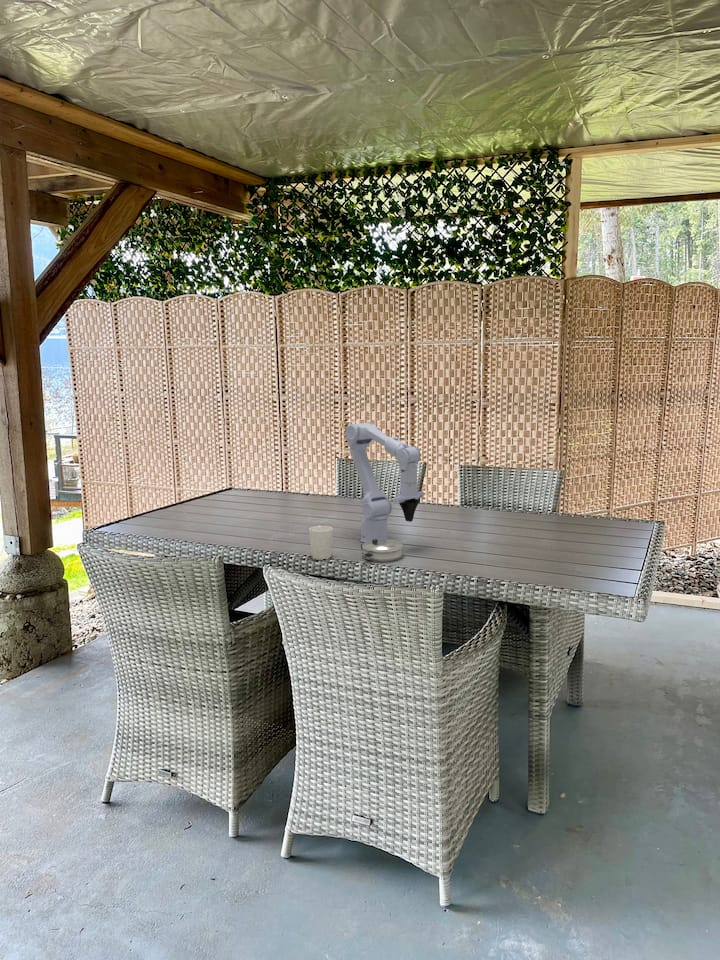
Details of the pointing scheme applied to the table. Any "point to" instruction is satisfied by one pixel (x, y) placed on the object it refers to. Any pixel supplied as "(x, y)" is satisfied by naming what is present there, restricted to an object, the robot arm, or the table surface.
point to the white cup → (321, 542)
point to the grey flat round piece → (382, 556)
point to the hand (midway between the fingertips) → (409, 521)
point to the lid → (382, 546)
